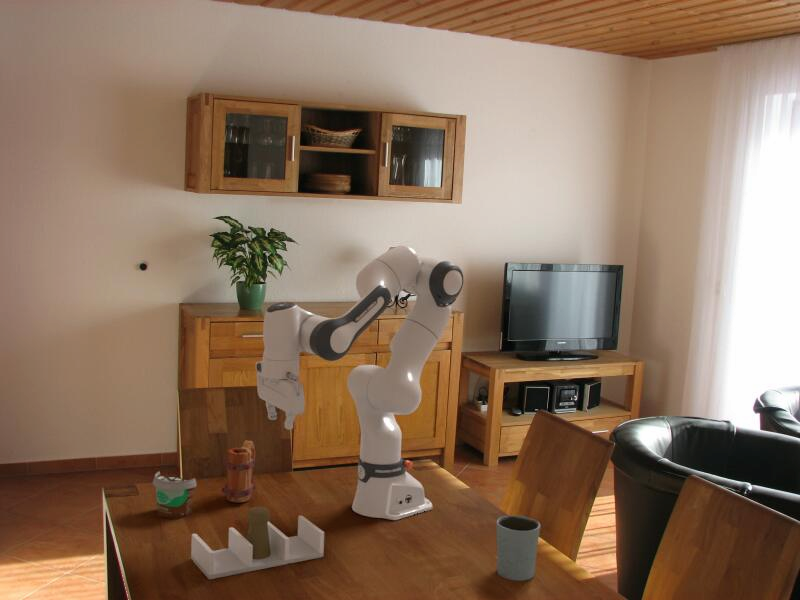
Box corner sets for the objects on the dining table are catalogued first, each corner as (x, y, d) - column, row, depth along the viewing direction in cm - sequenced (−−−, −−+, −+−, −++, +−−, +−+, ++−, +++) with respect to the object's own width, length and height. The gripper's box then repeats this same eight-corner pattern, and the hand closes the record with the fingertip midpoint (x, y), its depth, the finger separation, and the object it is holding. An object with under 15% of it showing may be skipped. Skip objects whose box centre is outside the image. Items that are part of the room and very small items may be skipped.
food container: (142, 514, 228) (142, 477, 226) (157, 507, 233) (157, 471, 232) (181, 523, 223) (182, 485, 222) (196, 515, 229) (196, 478, 228)
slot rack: (301, 538, 217) (302, 515, 216) (323, 556, 207) (324, 532, 206) (191, 559, 202) (191, 534, 201) (209, 579, 192) (209, 553, 191)
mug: (245, 507, 236) (247, 453, 234) (217, 504, 238) (218, 450, 236) (264, 490, 250) (266, 439, 249) (237, 487, 252) (239, 436, 250)
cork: (275, 552, 205) (277, 507, 204) (260, 561, 200) (262, 514, 199) (254, 546, 208) (256, 502, 207) (239, 555, 203) (240, 509, 201)
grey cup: (507, 584, 196) (510, 533, 195) (485, 566, 206) (488, 517, 204) (545, 578, 200) (549, 528, 199) (522, 561, 210) (525, 512, 208)
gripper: (311, 376, 207) (310, 432, 209) (275, 360, 224) (275, 412, 226) (287, 378, 204) (286, 436, 205) (252, 362, 221) (252, 415, 223)
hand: (280, 423), depth 216 cm, fingers open, 8 cm apart
